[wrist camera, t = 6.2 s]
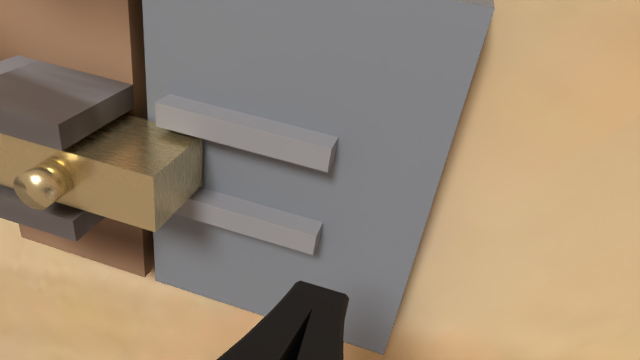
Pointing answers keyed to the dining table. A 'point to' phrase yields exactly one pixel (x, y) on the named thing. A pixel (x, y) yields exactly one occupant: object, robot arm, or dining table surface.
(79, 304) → the dining table surface
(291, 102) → the door leaf
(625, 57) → the dining table surface
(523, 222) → the dining table surface
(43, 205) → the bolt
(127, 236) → the panel
